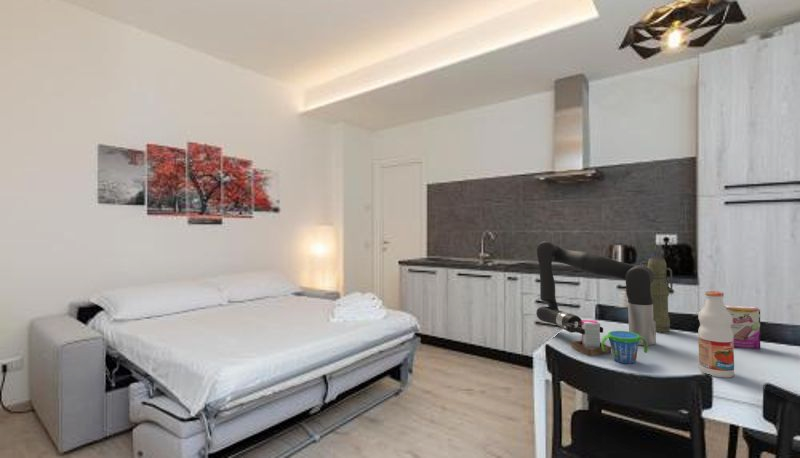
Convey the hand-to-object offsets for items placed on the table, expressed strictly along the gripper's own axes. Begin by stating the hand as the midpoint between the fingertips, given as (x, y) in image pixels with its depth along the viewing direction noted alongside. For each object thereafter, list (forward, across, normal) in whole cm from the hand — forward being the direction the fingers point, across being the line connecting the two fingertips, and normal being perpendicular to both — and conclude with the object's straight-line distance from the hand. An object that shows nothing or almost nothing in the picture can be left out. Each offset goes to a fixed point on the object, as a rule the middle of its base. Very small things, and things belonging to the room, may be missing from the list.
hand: (593, 331), depth 158 cm
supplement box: (-2, 0, +8) cm, 8 cm away
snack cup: (+12, +4, +9) cm, 15 cm away
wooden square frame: (-2, 0, +8) cm, 9 cm away
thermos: (-17, +49, +9) cm, 53 cm away
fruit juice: (+31, +24, +9) cm, 40 cm away
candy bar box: (+12, +60, +9) cm, 62 cm away
